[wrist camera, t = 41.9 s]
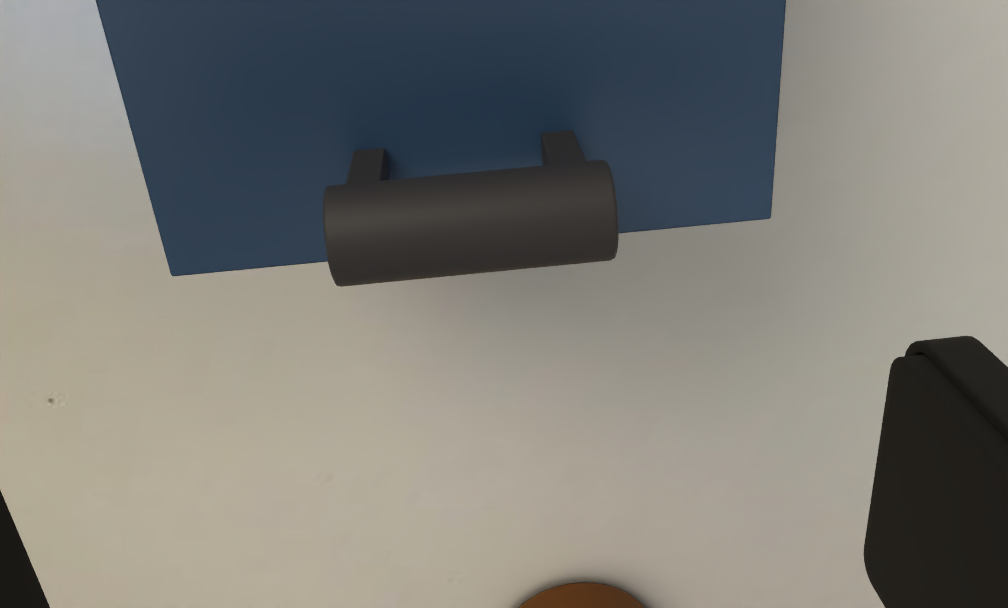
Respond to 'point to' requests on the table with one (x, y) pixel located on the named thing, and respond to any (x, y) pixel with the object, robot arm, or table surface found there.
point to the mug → (582, 597)
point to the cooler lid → (443, 127)
